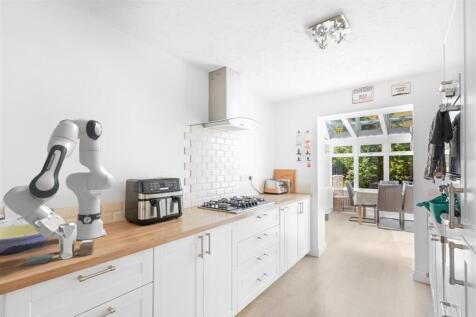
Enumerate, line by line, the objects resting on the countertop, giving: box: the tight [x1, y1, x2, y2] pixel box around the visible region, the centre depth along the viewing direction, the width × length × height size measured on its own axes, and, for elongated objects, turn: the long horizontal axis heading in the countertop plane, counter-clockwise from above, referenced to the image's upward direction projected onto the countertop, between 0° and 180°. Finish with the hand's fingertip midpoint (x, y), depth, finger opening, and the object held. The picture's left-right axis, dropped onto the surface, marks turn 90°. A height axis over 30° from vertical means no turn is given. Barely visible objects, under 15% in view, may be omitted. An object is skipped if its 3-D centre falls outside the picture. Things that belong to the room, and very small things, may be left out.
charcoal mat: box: [19, 252, 56, 267], centre depth 104 cm, size 12×9×1 cm
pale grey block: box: [79, 239, 93, 245], centre depth 118 cm, size 6×4×4 cm, turn 22°
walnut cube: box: [78, 240, 95, 257], centre depth 112 cm, size 5×5×5 cm
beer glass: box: [58, 222, 77, 260], centre depth 108 cm, size 7×7×15 cm
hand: (65, 236), depth 108 cm, fingers open, 8 cm apart
